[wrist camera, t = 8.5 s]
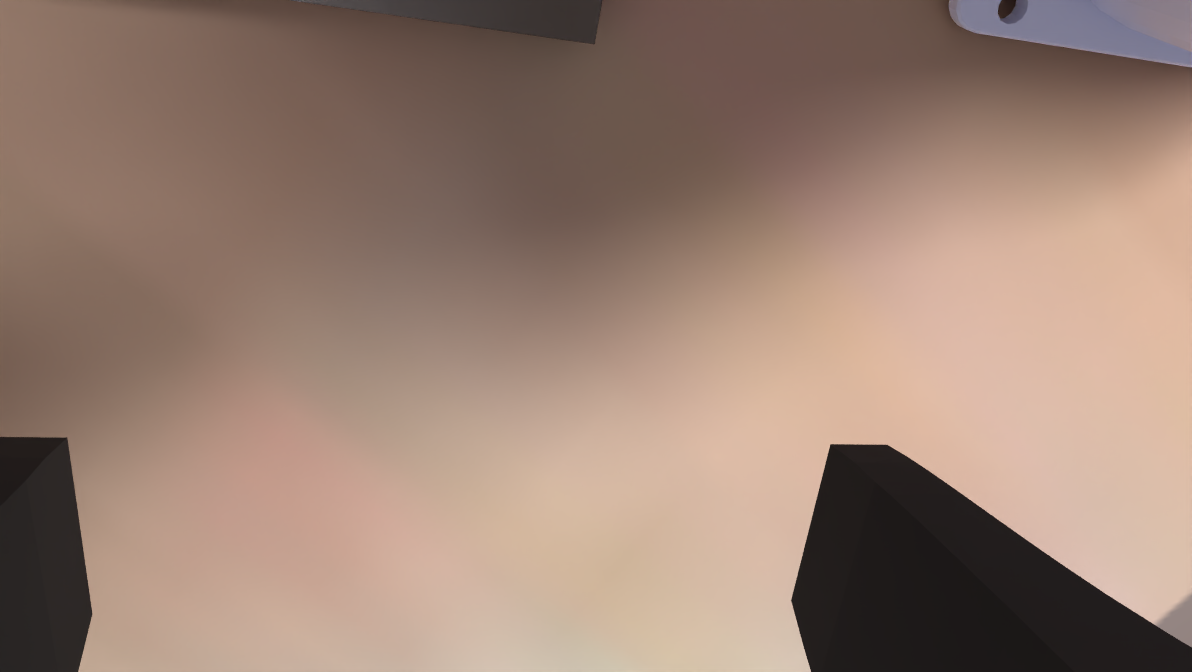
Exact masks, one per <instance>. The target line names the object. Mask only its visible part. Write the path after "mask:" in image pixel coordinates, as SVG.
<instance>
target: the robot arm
mask: <svg viewBox="0 0 1192 672" xmlns="http://www.w3.org/2000/svg"><path fill="white" fill-rule="evenodd" d="M1001 1H1002V0H949V6H948V7H949V11H950V15H951V18H952V19H953V20H954V22H955V23H956V24H957V25H958V26H960V27H962V28H964V29H966V30H969V31H971V32H974V33H978V34H984V35H991V36H997V37H1003V38H1010V39H1016V40H1022V41H1028V42H1035V43H1041V44H1047V45H1054V46H1060V47H1066V48H1072V49H1079V50H1085V51H1091V52H1098V53H1104V54H1110V55H1116V56H1123V57H1129V58H1135V59H1142V60H1148V61H1154V62H1160V63H1167V64H1173V65H1179V66H1186V67H1192V0H1016V6H1015V7H1014V9H1013V11H1012V12H1011V14H1009V15H1008V16H1006V17H1005V18H1001V19H1000V18H999V16H998V6H999V4H1000V2H1001ZM791 601H792V605H793V608H794V612H795V616H796V620H797V623H798V627H799V631H800V634H801V638H802V642H803V646H804V649H805V653H806V656H807V659H808V663H809V666H810V669H811V672H1192V647H1190V646H1188V645H1186V644H1185V643H1183V642H1181V641H1180V640H1178V639H1176V638H1175V637H1173V636H1171V635H1170V634H1168V633H1167V632H1165V631H1163V630H1162V629H1160V628H1159V627H1157V626H1155V625H1154V624H1152V623H1151V622H1149V621H1148V620H1146V619H1144V618H1143V617H1141V616H1140V615H1138V614H1137V613H1135V612H1133V611H1132V610H1130V609H1129V608H1127V607H1125V606H1124V605H1122V604H1121V603H1119V602H1118V601H1116V600H1114V599H1113V598H1111V597H1110V596H1108V595H1106V594H1105V593H1103V592H1102V591H1100V590H1099V589H1097V588H1096V587H1094V586H1093V585H1091V584H1090V583H1088V582H1087V581H1085V580H1084V579H1082V578H1081V577H1079V576H1078V575H1076V574H1075V573H1073V572H1072V571H1071V570H1069V569H1068V568H1066V567H1065V566H1063V565H1062V564H1060V563H1059V562H1057V561H1056V560H1054V559H1053V558H1052V557H1050V556H1049V555H1047V554H1046V553H1044V552H1043V551H1041V550H1040V549H1039V548H1037V547H1036V546H1034V545H1033V544H1031V543H1030V542H1029V541H1027V540H1026V539H1024V538H1023V537H1021V536H1020V535H1019V534H1017V533H1016V532H1014V531H1013V530H1012V529H1010V528H1009V527H1007V526H1006V525H1004V524H1003V523H1002V522H1000V521H999V520H997V519H996V518H995V517H993V516H992V515H990V514H989V513H988V512H986V511H985V510H983V509H982V508H981V507H979V506H978V505H976V504H975V503H973V502H972V501H971V500H969V499H968V498H966V497H965V496H964V495H962V494H961V493H959V492H958V491H957V490H955V489H954V488H952V487H951V486H950V485H948V484H947V483H945V482H944V481H942V480H941V479H939V478H938V477H937V476H935V475H934V474H932V473H931V472H929V471H928V470H926V469H925V468H923V467H922V466H920V465H919V464H917V463H916V462H914V461H913V460H911V459H910V458H908V457H907V456H905V455H903V454H902V453H900V452H898V451H897V450H895V449H893V448H892V447H890V446H888V445H845V444H831V445H830V449H829V453H828V457H827V461H826V465H825V468H824V472H823V476H822V480H821V484H820V488H819V492H818V496H817V500H816V504H815V508H814V512H813V516H812V520H811V524H810V528H809V532H808V536H807V540H806V544H805V548H804V552H803V556H802V560H801V564H800V568H799V572H798V576H797V580H796V584H795V588H794V592H793V596H792V600H791ZM91 617H92V608H91V601H90V594H89V587H88V580H87V573H86V566H85V559H84V552H83V545H82V538H81V531H80V524H79V517H78V510H77V503H76V496H75V489H74V482H73V475H72V468H71V461H70V454H69V447H68V440H67V438H40V437H0V672H78V670H79V666H80V662H81V658H82V654H83V649H84V645H85V641H86V637H87V633H88V629H89V625H90V621H91Z"/></svg>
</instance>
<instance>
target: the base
mask: <svg viewBox="0 0 1192 672" xmlns="http://www.w3.org/2000/svg"><path fill="white" fill-rule="evenodd" d="M292 1H299V2H306V3H313V4H320V5H326V6H333V7H340V8H347V9H354V10H361V11H368V12H375V13H382V14H389V15H396V16H403V17H410V18H416V19H423V20H430V21H437V22H444V23H451V24H458V25H465V26H472V27H479V28H486V29H493V30H499V31H506V32H513V33H520V34H527V35H534V36H541V37H548V38H555V39H562V40H569V41H576V42H583V43H589V44H595V39H596V33H597V27H598V21H599V16H600V10H601V4H602V0H292Z"/></svg>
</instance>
